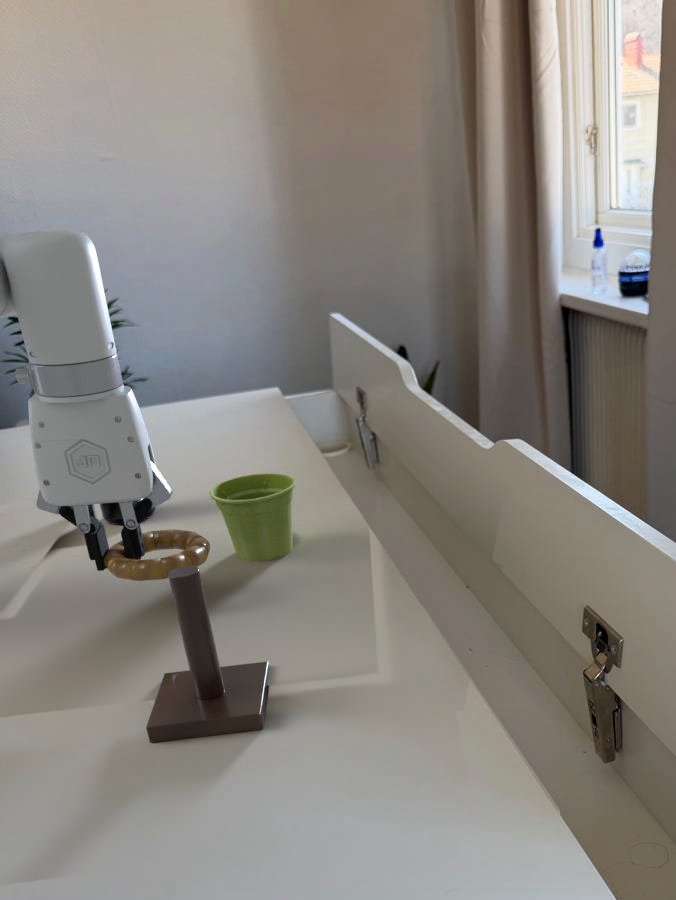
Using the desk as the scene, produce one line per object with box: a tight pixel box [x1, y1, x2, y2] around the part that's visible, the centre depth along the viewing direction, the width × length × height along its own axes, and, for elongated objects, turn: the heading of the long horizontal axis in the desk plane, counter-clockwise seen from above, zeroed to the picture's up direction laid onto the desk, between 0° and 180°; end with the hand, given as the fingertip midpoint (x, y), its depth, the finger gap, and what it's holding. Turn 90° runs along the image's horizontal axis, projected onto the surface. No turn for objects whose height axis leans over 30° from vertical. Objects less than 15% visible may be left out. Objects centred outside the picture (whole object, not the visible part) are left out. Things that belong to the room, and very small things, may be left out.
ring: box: [104, 528, 211, 582], centre depth 97 cm, size 10×10×2 cm
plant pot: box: [209, 472, 297, 563], centre depth 110 cm, size 9×9×9 cm
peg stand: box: [145, 566, 270, 743], centre depth 79 cm, size 9×9×12 cm
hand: (119, 562), depth 97 cm, fingers closed on ring, 2 cm apart
